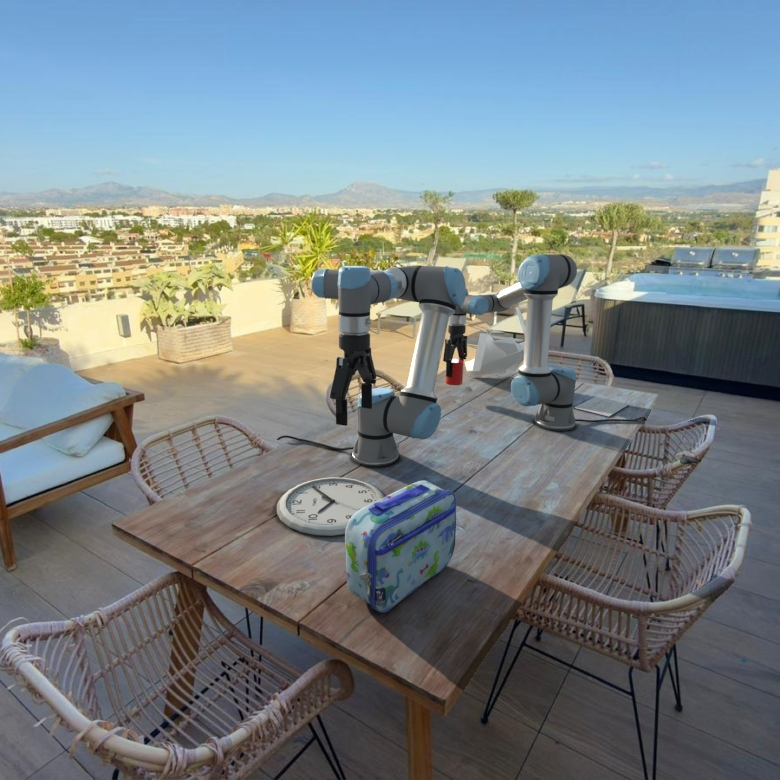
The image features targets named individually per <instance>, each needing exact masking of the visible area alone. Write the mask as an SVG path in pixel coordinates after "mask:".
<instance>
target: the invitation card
mask: <svg viewBox="0 0 780 780" xmlns="http://www.w3.org/2000/svg"><path fill="white" fill-rule="evenodd" d="M628 406H629V404H627V403H623V402H618V401H614V400H609V399H605V398H601V397H596V396H593V397H592V398H590V399H588V400H586V401H584V402H582V403H580V404H578V405H575V406H574V407H573V409H575V410H581V411H584V412H587V413H593V414H596V415H600V416H604V417H608V418H609V417H611V416H613V415H614V414H616V413H617V412H619V411H621V410H623V409H624V408H626V407H628Z"/></svg>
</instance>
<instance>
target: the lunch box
mask: <svg viewBox="0 0 780 780" xmlns="http://www.w3.org/2000/svg"><path fill="white" fill-rule="evenodd" d="M456 531H457V499H456V495H455V493H454V492H453V490H450V489H442V488H440V487H439V486H437V485H435V484H433V483H432V482H430V481H428V480H418V481H416V482H413V483H410V484H409V485H406V486H405V487H402V488H400V489H398V490H396V491H394V492H392V493H390V494H388V495H385V497H384V498H382V499H380V500H378V501H376V502H374V503H372V504H370V505H368V506H366V507H364V508H362V509H360V510H358V511H357V512H355V513H354V514H353V515H352V517H351V518H350V520H349V522H348V524H347V527H346V531H345V534H344V552H345V577H346V578H345V580H346V586H347V589H348V592H349V593H350V594H352V595H354V596H356V597H357V598H359V599H361V600H363V602H365V603H367V604H368V605H370V607H371V608H372V609H373V610H375V611H376V612H378V613H380V614H382V613H383V614H385V613H387V612H389V611H391V609H393V608H394V607H395V606H396V605H397V604H400V602H401V601H402V600H404V599H406V597H409V596H410V595H411V594H412V593H414V592H415V591H416V590H417V589H418V588H420V587H421V586H422V585H423V584H424V583H425V582H427V581H428V580H430V579H432V578H433V577H434V576H436V575H437V574H439V573H441V572H442V571H443V570H445V568H446V567H447V566H448V564H449V563H450V561H451V560H452V557H453V554H454V551H455V548H456V547H455V546H456Z"/></svg>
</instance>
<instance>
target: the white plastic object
mask: <svg viewBox="0 0 780 780" xmlns="http://www.w3.org/2000/svg"><path fill="white" fill-rule="evenodd" d="M515 311H516V314H517V317H518V320H519V323H520V326H521V329H522V332H523V336H525V331H526V321H525V320H524V315H523V313H522V311H521V310H520V307H519V306H517V307H515ZM524 345H525V340H524V341H522V342H519V343H518V342H516V340H515V339H514V337H513V336H510V337H505V338H501V339H497V340H494V339H493V338H492V337H491V335H490V334H489V333H487V332H486V333H485V332H483V333H482V332H480V333H479V336H478V341H477V346H476V351H475V355H474V358H473V359H471V360H468V361H465V362H464V365H465V370H466V372H467V374H468V375H469V377H471V378H472V377H481V376H490V375H496V376H500V375H502V374H505V373H506V372H507V370H508V369H509V368H511V367H512V366H513V365H515V364H517V363H518V362H520V361H521V360H522V359H524Z"/></svg>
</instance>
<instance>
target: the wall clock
mask: <svg viewBox="0 0 780 780" xmlns="http://www.w3.org/2000/svg"><path fill="white" fill-rule="evenodd" d="M384 497H386V495H385V494H384V493H383V492H382V491H381V490H380V489H379V488H377V487H376V486H374V485H372V484H371V483H369V482H365V481H362V480H359V479H355V478H349V477H338V476H337V477H335V476H333V477H332V476H331V477H322V478H317V479H312V480H307V481H305V482H302V483H299V484H297V485H295V486H293V487H292V488H290V489H288V490H287V491H286V492H285V493H284V494H283V495H281V496H280V498H279V499H278V502H277V503H276V515H277V517H278V518H279V520H280V521H281V522H282V523H283V524H285V525H286V526H287V527H288V528H290V529H293V530H295V531H297V532H299V533H303V534H308V535H312V536H327V537H328V536H329V537H331V536H332V537H333V536H342V535H345V531H346V527H347V524H348V522H349V520H350V518H351V517H352V515H353V514H354V513H355V512H357V511H358V510H360V509H362V508H364V507H366V506H368V505H370V504H372V503H374V502H376V501H378V500H380V499H382V498H384Z"/></svg>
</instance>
